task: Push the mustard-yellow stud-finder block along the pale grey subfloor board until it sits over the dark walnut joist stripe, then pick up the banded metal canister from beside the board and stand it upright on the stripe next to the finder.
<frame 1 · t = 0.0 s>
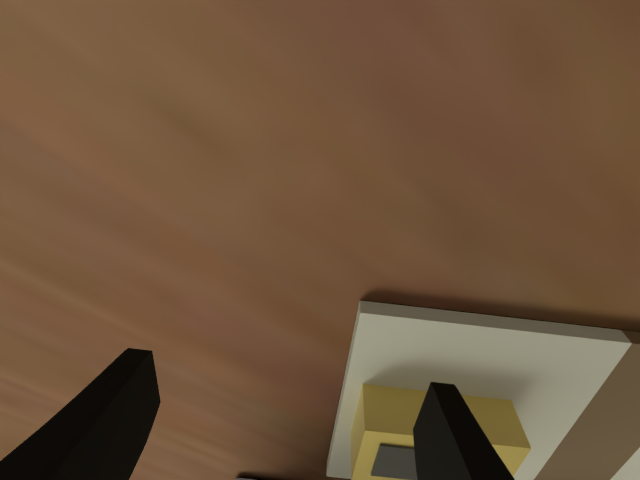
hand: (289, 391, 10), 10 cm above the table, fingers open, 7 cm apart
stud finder: (426, 417, 25), point 1 cm above the table, touching subfloor board
subfloor board: (522, 414, 26), on the table
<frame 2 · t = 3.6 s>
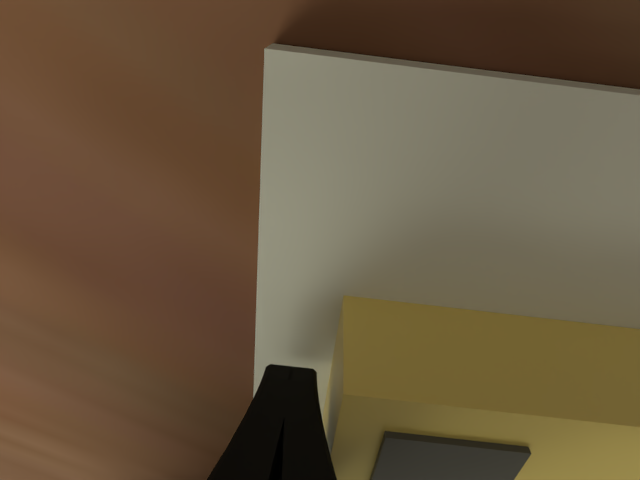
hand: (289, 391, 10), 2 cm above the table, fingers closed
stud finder: (485, 379, 12), point 1 cm above the table, touching gripper, subfloor board
subfloor board: (639, 371, 12), on the table
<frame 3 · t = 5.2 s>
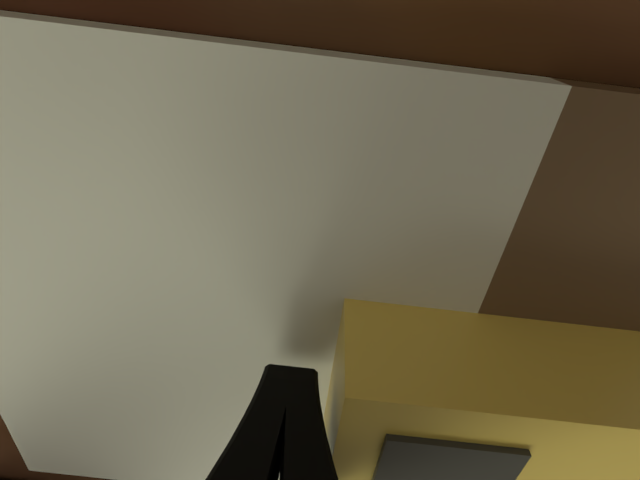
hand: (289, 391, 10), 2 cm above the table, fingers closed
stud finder: (485, 381, 12), point 1 cm above the table, touching gripper, subfloor board
subfloor board: (365, 339, 12), on the table
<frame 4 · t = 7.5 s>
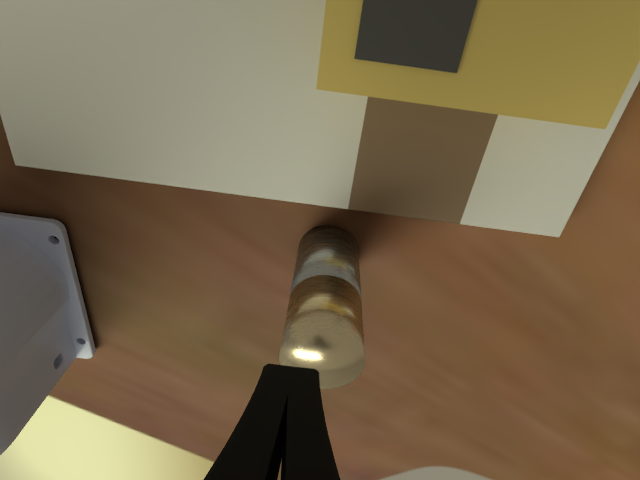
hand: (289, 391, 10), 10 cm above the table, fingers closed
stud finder: (461, 13, 13), point 1 cm above the table, touching subfloor board
banded metal canister: (328, 251, 20), on the table
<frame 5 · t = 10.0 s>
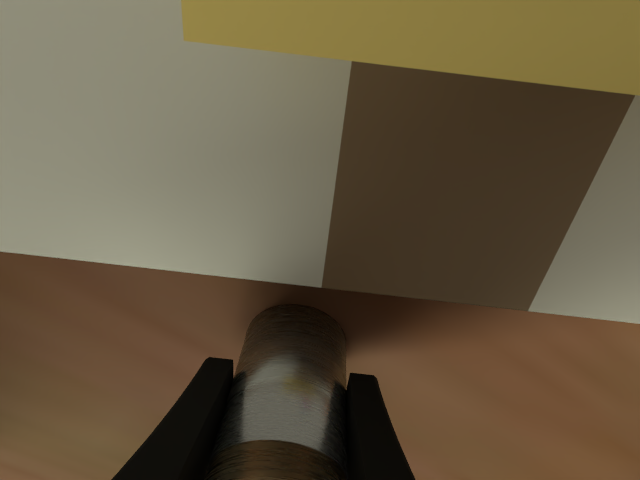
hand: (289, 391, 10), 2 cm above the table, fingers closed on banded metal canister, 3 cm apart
banded metal canister: (295, 343, 12), on the table, touching gripper
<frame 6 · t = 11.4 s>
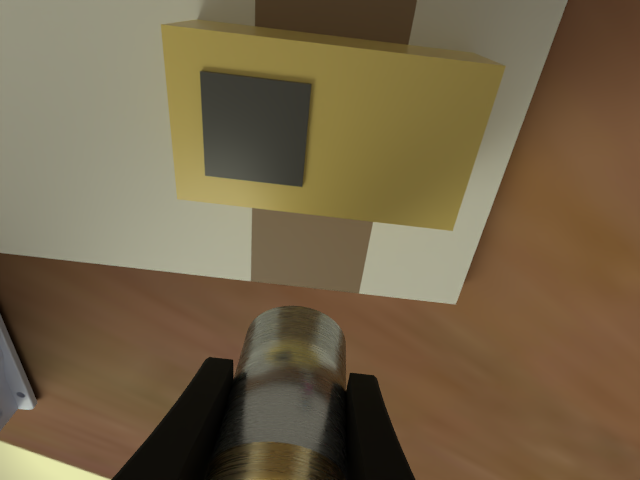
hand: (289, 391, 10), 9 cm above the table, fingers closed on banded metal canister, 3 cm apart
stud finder: (327, 114, 14), point 1 cm above the table, touching subfloor board
banded metal canister: (295, 344, 12), point 7 cm above the table, touching gripper
subfloor board: (192, 87, 15), on the table
when the fingers open (4 cm above the table, at t = 12.8 s): banded metal canister stays where it is, resting on subfloor board.
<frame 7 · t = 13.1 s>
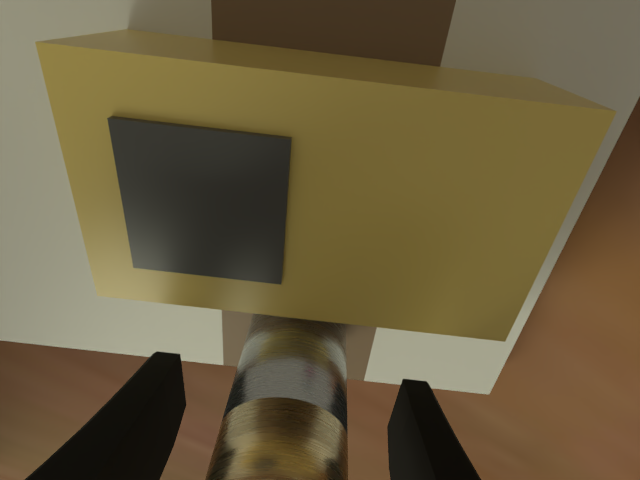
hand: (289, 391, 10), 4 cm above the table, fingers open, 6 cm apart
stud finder: (320, 162, 10), point 1 cm above the table, touching subfloor board
banded metal canister: (299, 321, 13), point 1 cm above the table, touching subfloor board
subfloor board: (133, 122, 11), on the table
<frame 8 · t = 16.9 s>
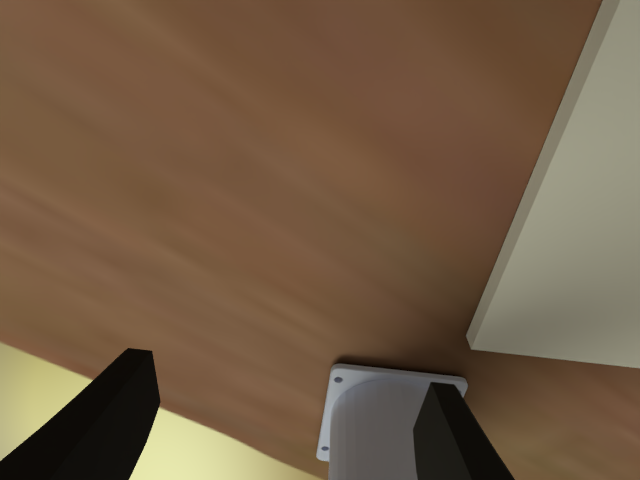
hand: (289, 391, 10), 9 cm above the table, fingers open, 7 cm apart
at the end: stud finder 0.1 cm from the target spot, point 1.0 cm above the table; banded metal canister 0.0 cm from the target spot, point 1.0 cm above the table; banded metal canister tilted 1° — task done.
